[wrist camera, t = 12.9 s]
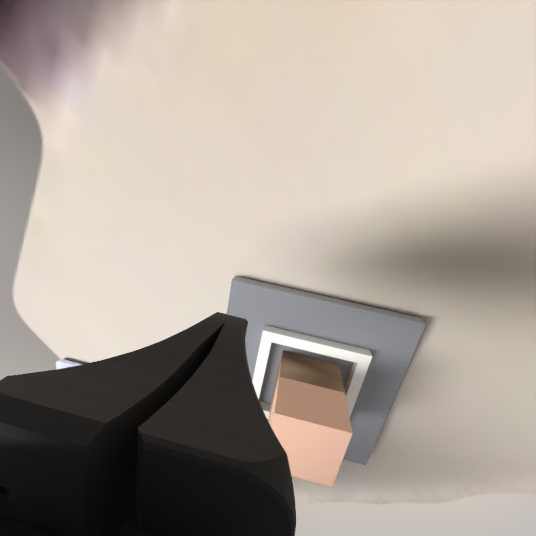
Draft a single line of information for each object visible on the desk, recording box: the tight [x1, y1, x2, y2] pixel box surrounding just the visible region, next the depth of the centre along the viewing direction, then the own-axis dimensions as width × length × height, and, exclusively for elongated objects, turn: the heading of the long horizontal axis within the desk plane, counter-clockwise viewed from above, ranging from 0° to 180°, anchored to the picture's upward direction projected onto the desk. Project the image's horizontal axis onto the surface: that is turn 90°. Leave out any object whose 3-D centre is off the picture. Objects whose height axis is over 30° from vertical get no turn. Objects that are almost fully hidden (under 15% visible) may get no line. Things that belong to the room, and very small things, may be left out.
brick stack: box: [268, 350, 353, 487], centre depth 18 cm, size 4×4×6 cm
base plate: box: [227, 276, 426, 465], centre depth 21 cm, size 14×14×2 cm
